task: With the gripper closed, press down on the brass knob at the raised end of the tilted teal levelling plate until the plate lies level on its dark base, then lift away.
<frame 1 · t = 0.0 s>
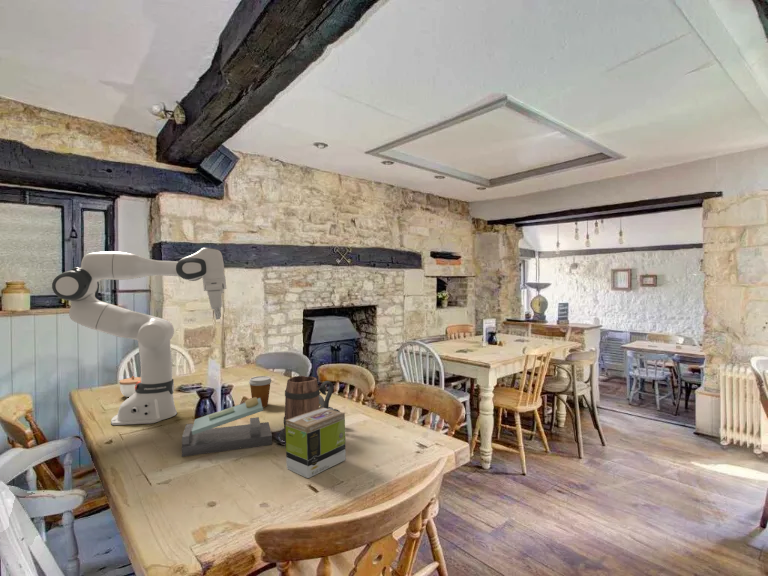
hand: (218, 318, 170), 39 cm above the table, tool pointing down, fingers open, 8 cm apart
disposable coffee cup: (260, 406, 176), on the table
tea box: (316, 465, 119), on the table
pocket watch: (322, 412, 168), on the table
levelling plate: (227, 412, 135), point 10 cm above the table, hinge at 14.0°
tankard: (310, 433, 144), on the table
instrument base: (228, 442, 135), on the table
lidded jar: (133, 396, 191), on the table
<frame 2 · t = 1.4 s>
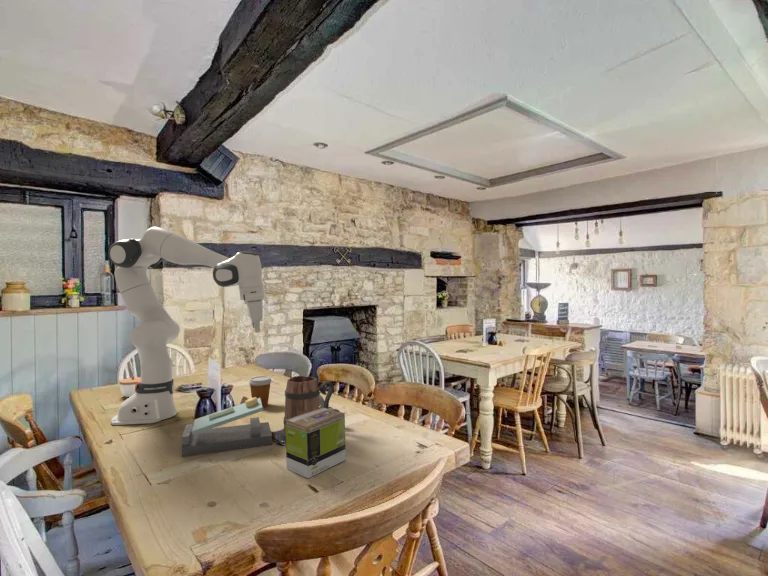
hand: (256, 329, 153), 36 cm above the table, tool pointing down, fingers open, 8 cm apart
nothing on the table moved.
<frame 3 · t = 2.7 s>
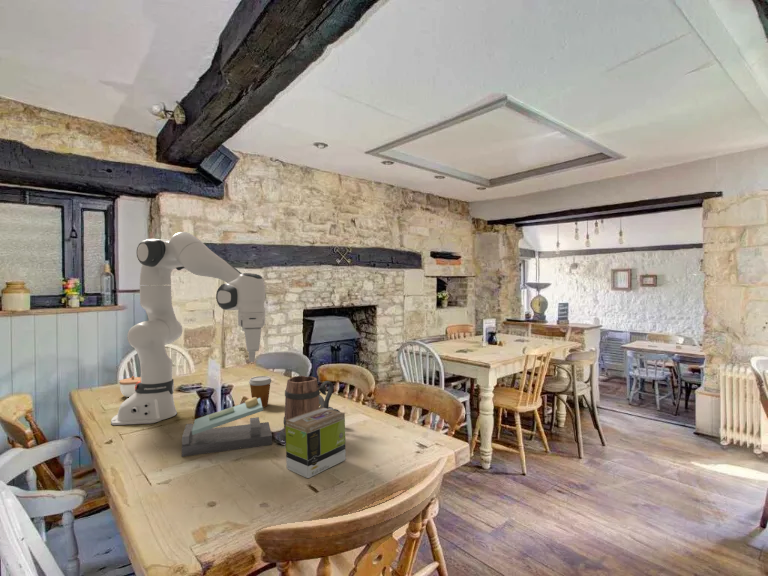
hand: (251, 360, 138), 27 cm above the table, tool pointing down, fingers closed
nothing on the table moved.
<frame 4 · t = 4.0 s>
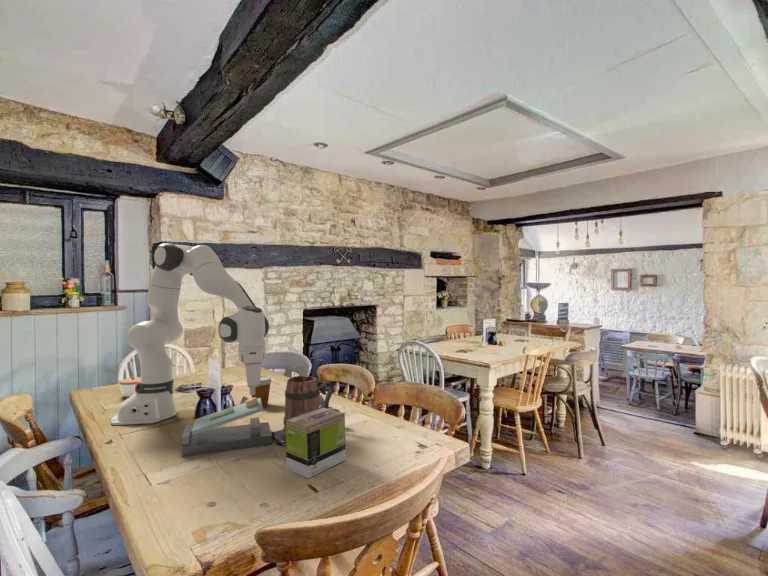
hand: (252, 394, 138), 16 cm above the table, tool pointing down, fingers closed
nothing on the table moved.
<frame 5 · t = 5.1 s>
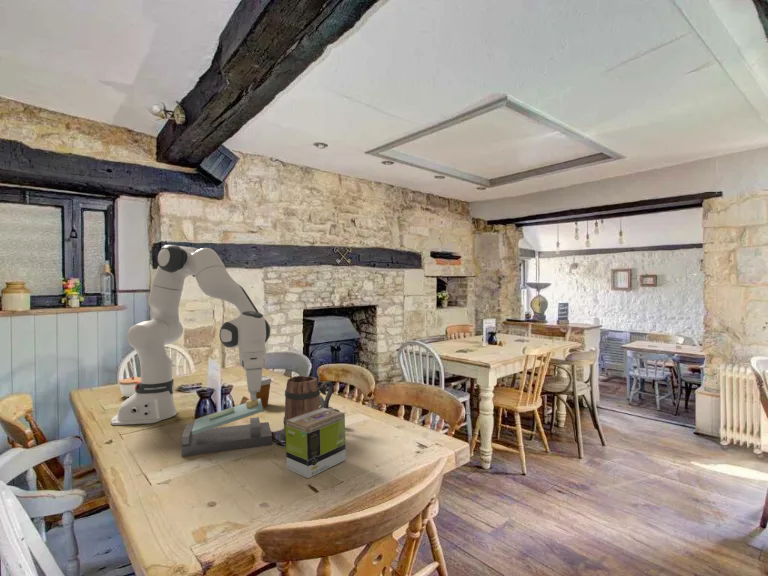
hand: (253, 399, 138), 14 cm above the table, tool pointing down, fingers closed, pressing on levelling plate
levelling plate: (228, 412, 135), point 10 cm above the table, hinge at 13.3°, touching gripper
everything else where it was.
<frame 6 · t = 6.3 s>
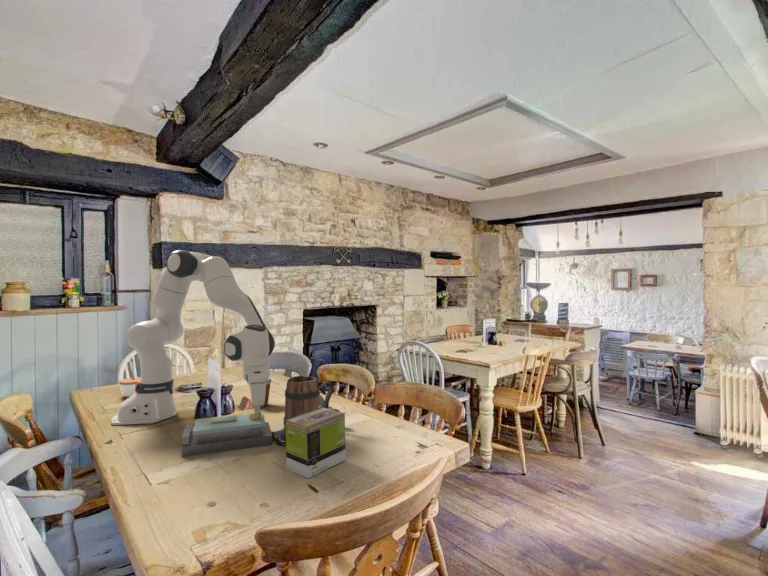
hand: (257, 412, 138), 9 cm above the table, tool pointing down, fingers closed, pressing on levelling plate
levelling plate: (230, 419, 135), point 8 cm above the table, hinge at -0.1°, touching gripper
everything else where it was.
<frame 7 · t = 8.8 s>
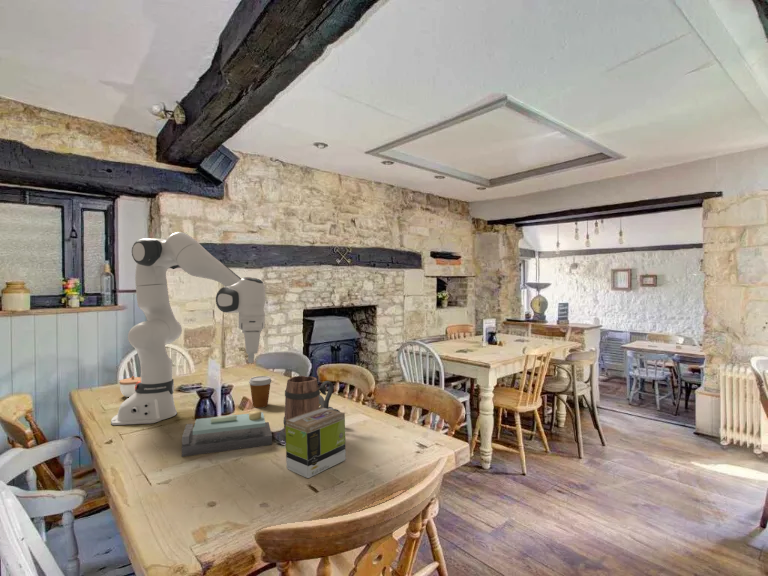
hand: (250, 362, 143), 26 cm above the table, tool pointing down, fingers closed
levelling plate: (230, 419, 135), point 8 cm above the table, hinge at -0.2°
everything else where it was.
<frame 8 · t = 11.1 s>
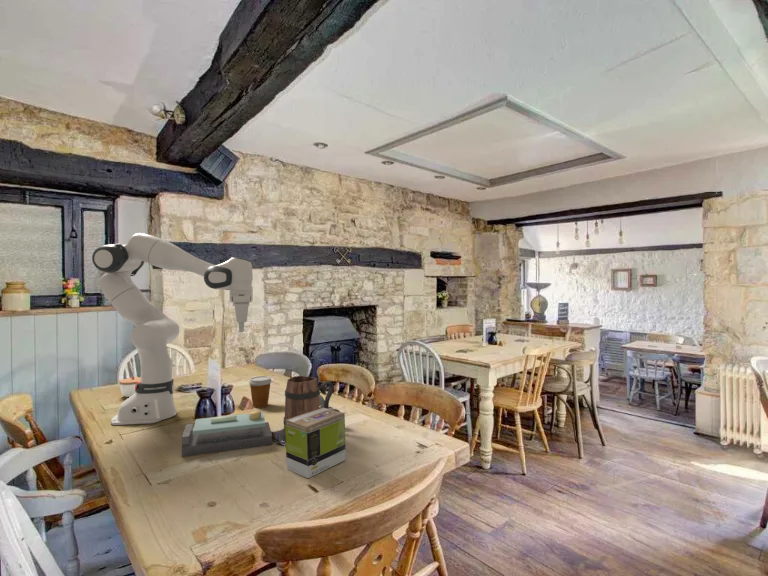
hand: (241, 331, 162), 34 cm above the table, tool pointing down, fingers closed
nothing on the table moved.
at the end: levelling plate at +0° (first picture: +14°) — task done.
